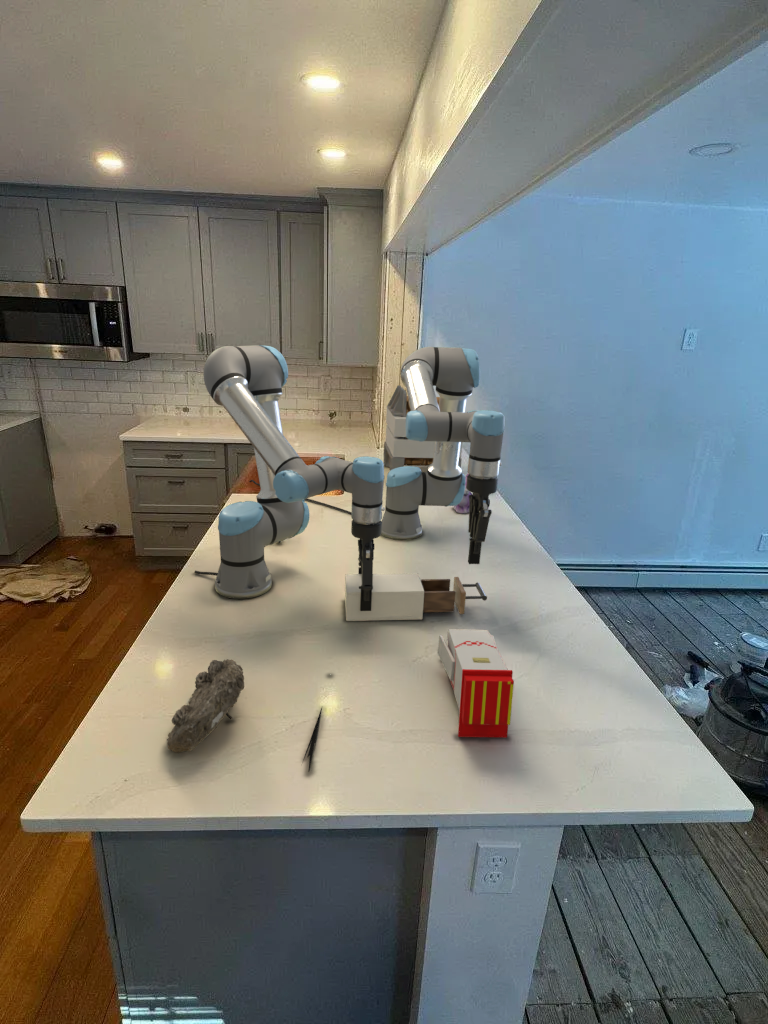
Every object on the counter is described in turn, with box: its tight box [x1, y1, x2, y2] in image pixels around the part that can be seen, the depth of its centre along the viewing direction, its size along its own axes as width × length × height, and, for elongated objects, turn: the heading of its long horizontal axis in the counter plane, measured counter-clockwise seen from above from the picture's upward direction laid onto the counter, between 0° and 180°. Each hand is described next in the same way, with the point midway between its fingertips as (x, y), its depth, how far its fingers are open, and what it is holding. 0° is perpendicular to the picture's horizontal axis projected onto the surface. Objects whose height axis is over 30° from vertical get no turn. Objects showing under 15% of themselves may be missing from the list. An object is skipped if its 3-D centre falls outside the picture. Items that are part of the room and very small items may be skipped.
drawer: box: [420, 576, 488, 615], centre depth 149 cm, size 24×9×6 cm, turn 95°
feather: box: [301, 673, 332, 771], centre depth 108 cm, size 2×28×2 cm
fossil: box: [166, 658, 245, 754], centre depth 106 cm, size 22×10×15 cm
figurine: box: [453, 472, 473, 514], centre depth 224 cm, size 9×10×15 cm
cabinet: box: [344, 572, 424, 622], centre depth 148 cm, size 20×10×8 cm, turn 95°
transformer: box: [383, 384, 464, 471], centre depth 268 cm, size 34×33×41 cm
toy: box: [437, 628, 515, 738], centre depth 117 cm, size 12×13×30 cm
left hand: (364, 599), depth 147 cm, fingers closed on cabinet, 10 cm apart
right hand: (473, 562), depth 147 cm, fingers closed
